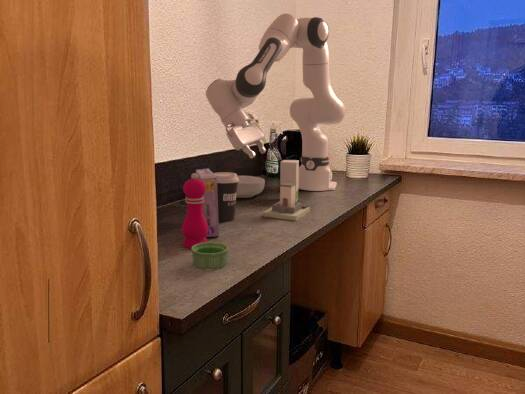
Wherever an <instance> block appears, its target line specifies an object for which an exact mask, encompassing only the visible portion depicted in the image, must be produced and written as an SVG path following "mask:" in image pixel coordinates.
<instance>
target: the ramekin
mask: <svg viewBox="0 0 525 394" xmlns="http://www.w3.org/2000/svg"><path fill="white" fill-rule="evenodd" d="M190 249H191V252H192V262H193V266H194V267H195V268H197V269H199V268H200V270H205V269H214V270H218V269H217V268H219V269H221V267H222V268H224V267H225V266H226V265H227V261H228V260H227V259H228V251H229V249H230V248H229V246H228V245H227V244H225V243H221V242H215V241H207V242H204V243H199V244H196V245H194V246H192V248H190ZM223 266H224V267H223Z"/></svg>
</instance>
